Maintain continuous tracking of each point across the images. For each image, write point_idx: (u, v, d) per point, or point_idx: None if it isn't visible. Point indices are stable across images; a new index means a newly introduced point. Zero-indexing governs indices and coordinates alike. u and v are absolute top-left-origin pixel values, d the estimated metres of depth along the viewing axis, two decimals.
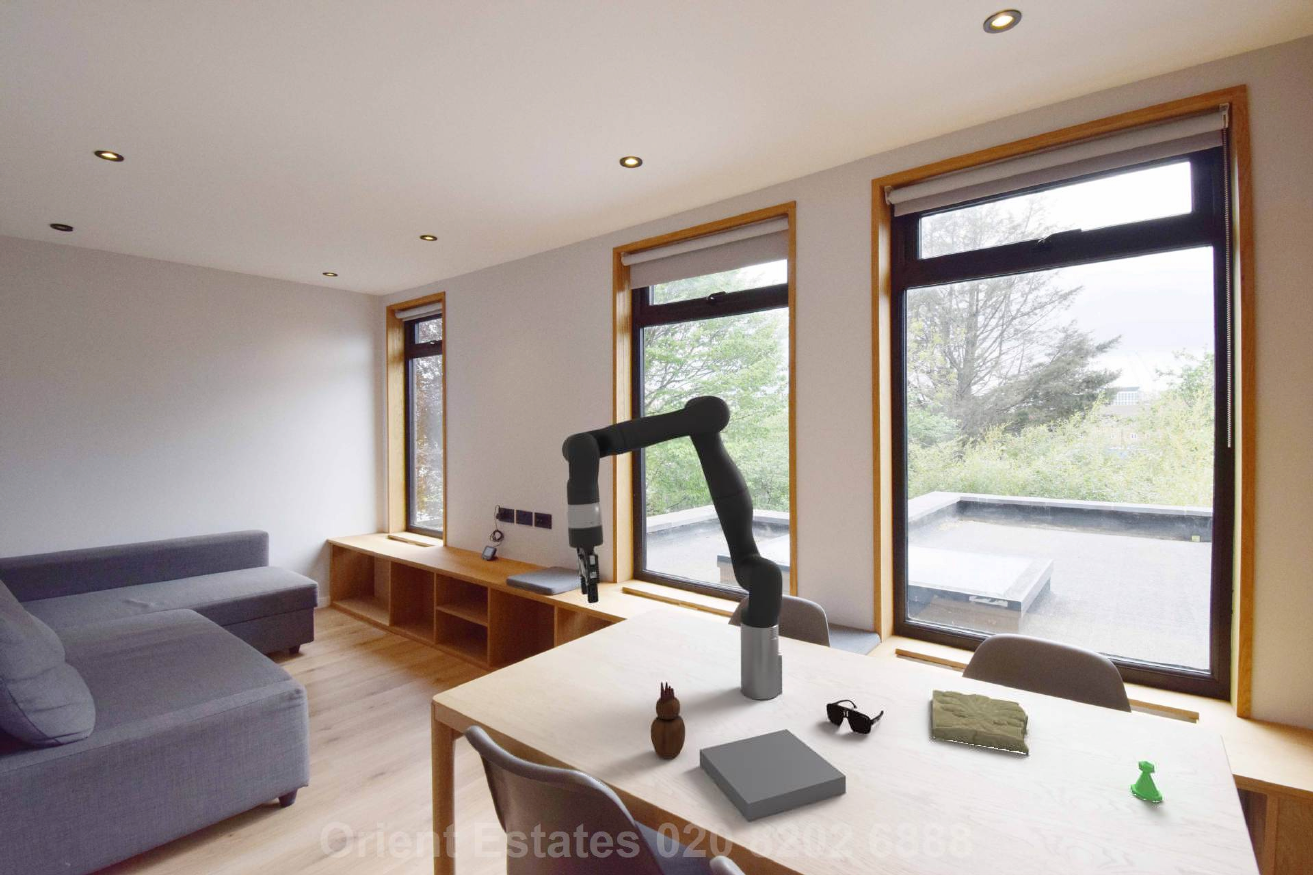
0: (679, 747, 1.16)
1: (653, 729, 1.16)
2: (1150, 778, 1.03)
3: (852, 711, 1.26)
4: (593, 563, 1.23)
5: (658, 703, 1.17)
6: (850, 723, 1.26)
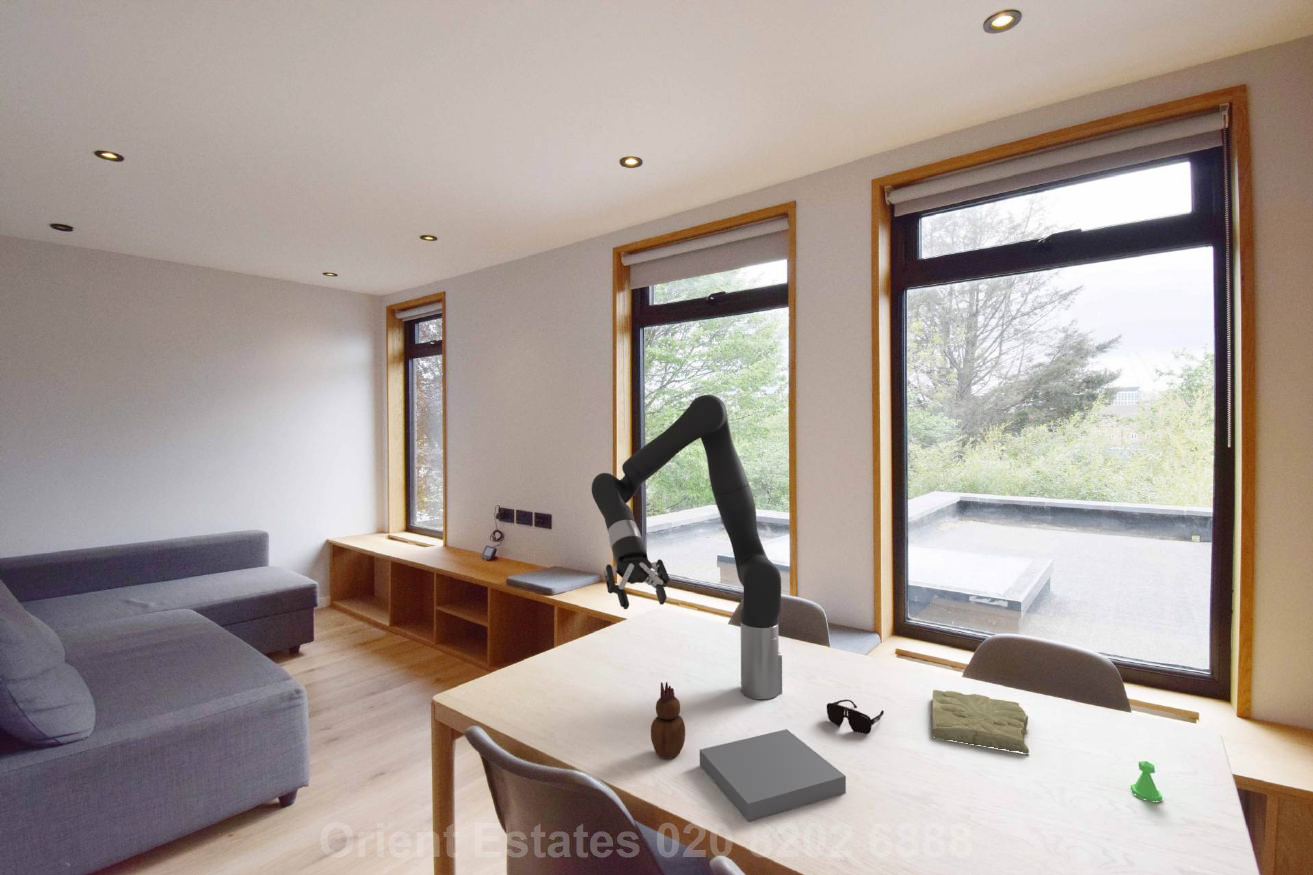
0: (679, 747, 1.16)
1: (653, 729, 1.16)
2: (1150, 778, 1.03)
3: (852, 711, 1.26)
4: (606, 573, 1.32)
5: (658, 703, 1.17)
6: (850, 723, 1.26)
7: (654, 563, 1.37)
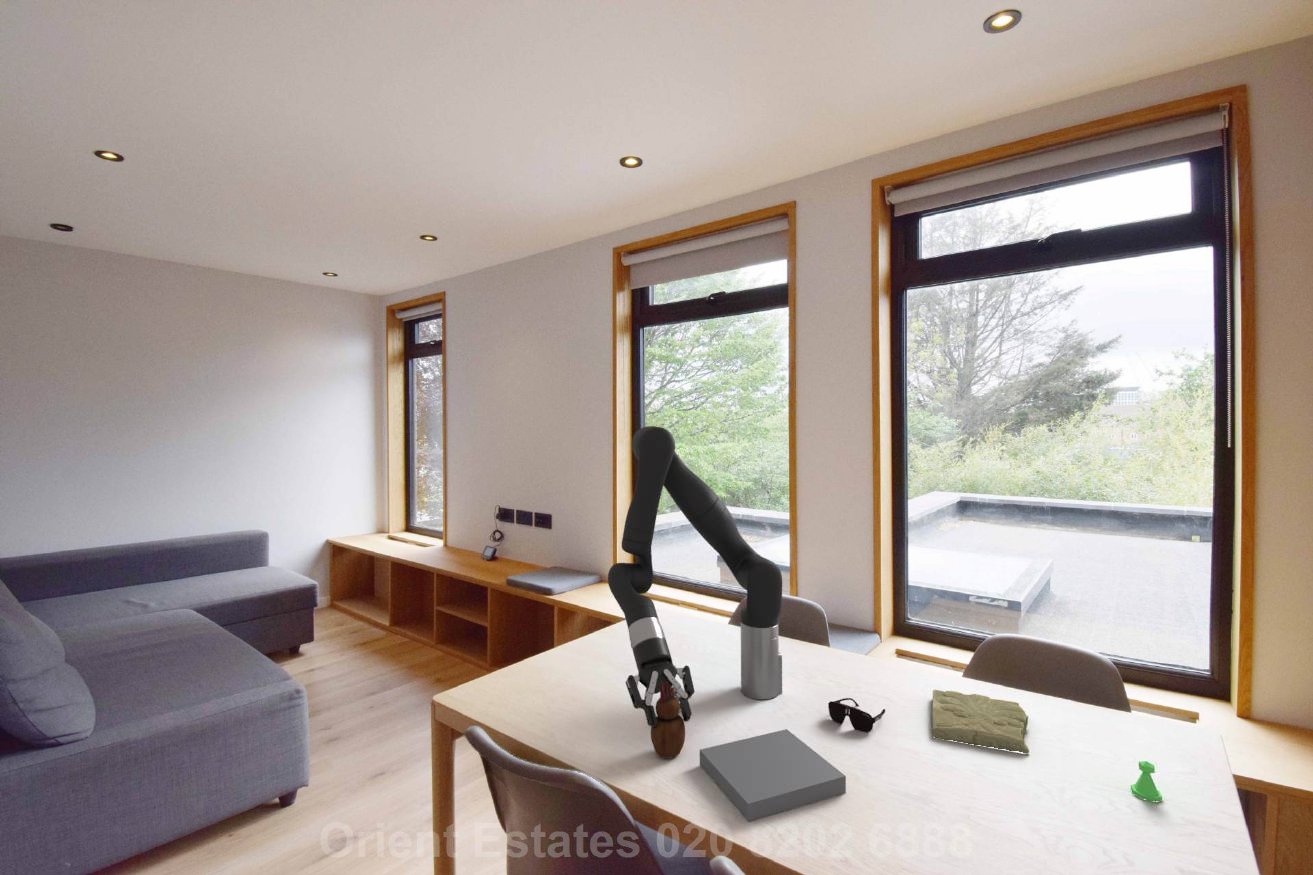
0: (679, 747, 1.16)
1: (653, 729, 1.16)
2: (1150, 778, 1.03)
3: (853, 709, 1.27)
4: (629, 686, 1.19)
5: (658, 703, 1.17)
6: (851, 721, 1.27)
7: (680, 669, 1.25)
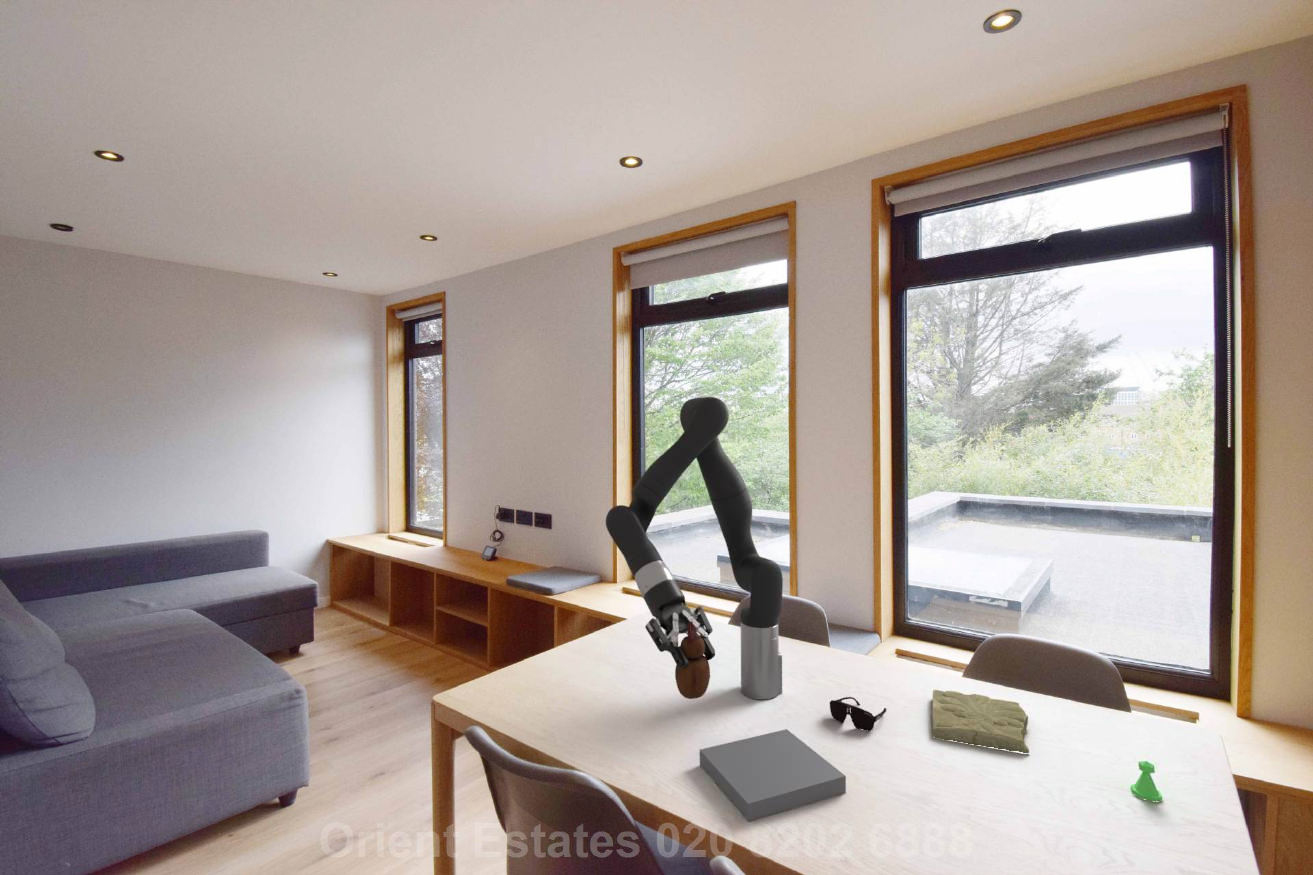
0: (707, 685, 1.13)
1: (681, 670, 1.12)
2: (1150, 778, 1.03)
3: (855, 708, 1.27)
4: (652, 629, 1.13)
5: (685, 643, 1.13)
6: (853, 720, 1.28)
7: (693, 610, 1.21)
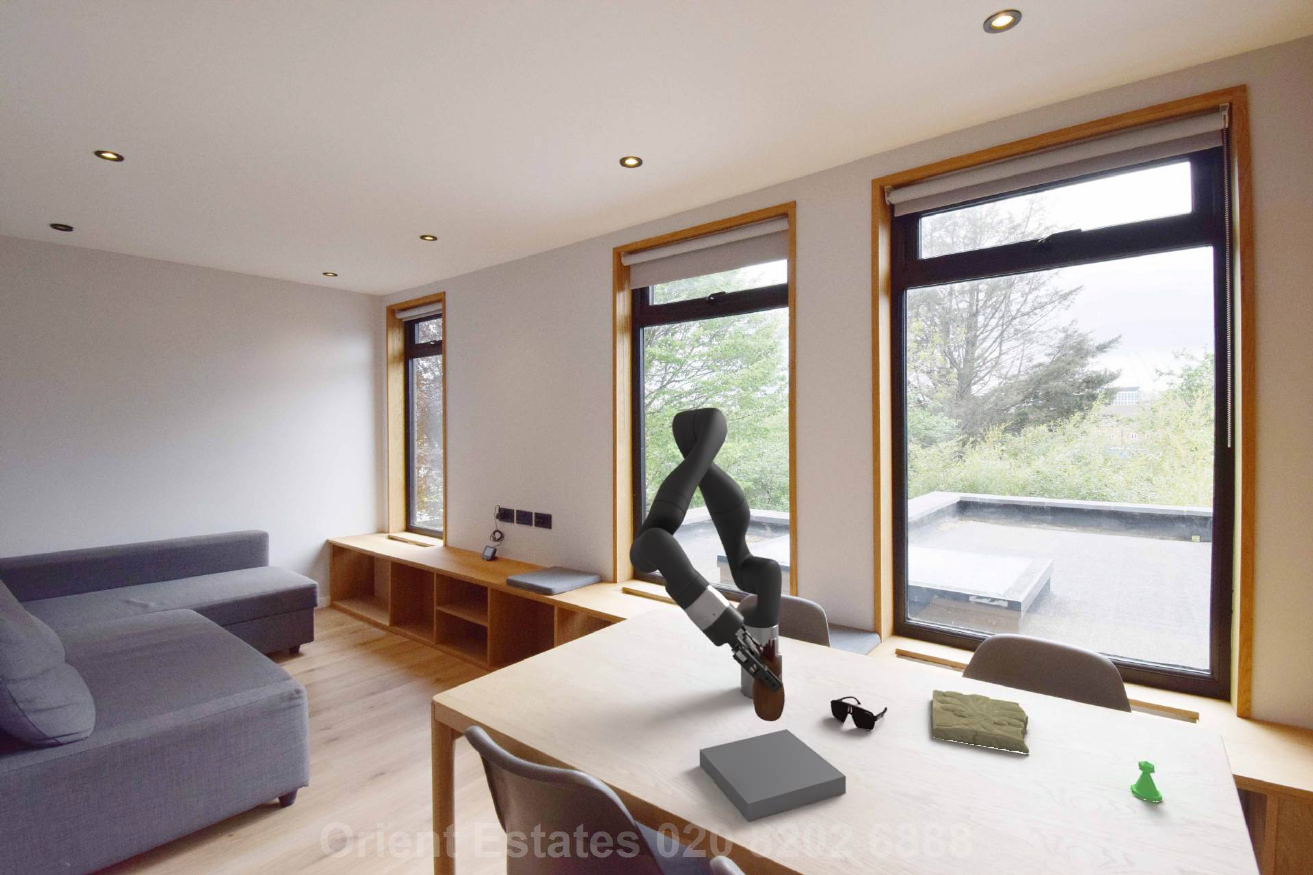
0: None
1: (771, 693, 1.06)
2: (1150, 778, 1.03)
3: (856, 708, 1.28)
4: (745, 659, 1.03)
5: (770, 664, 1.07)
6: (854, 719, 1.28)
7: (740, 629, 1.15)
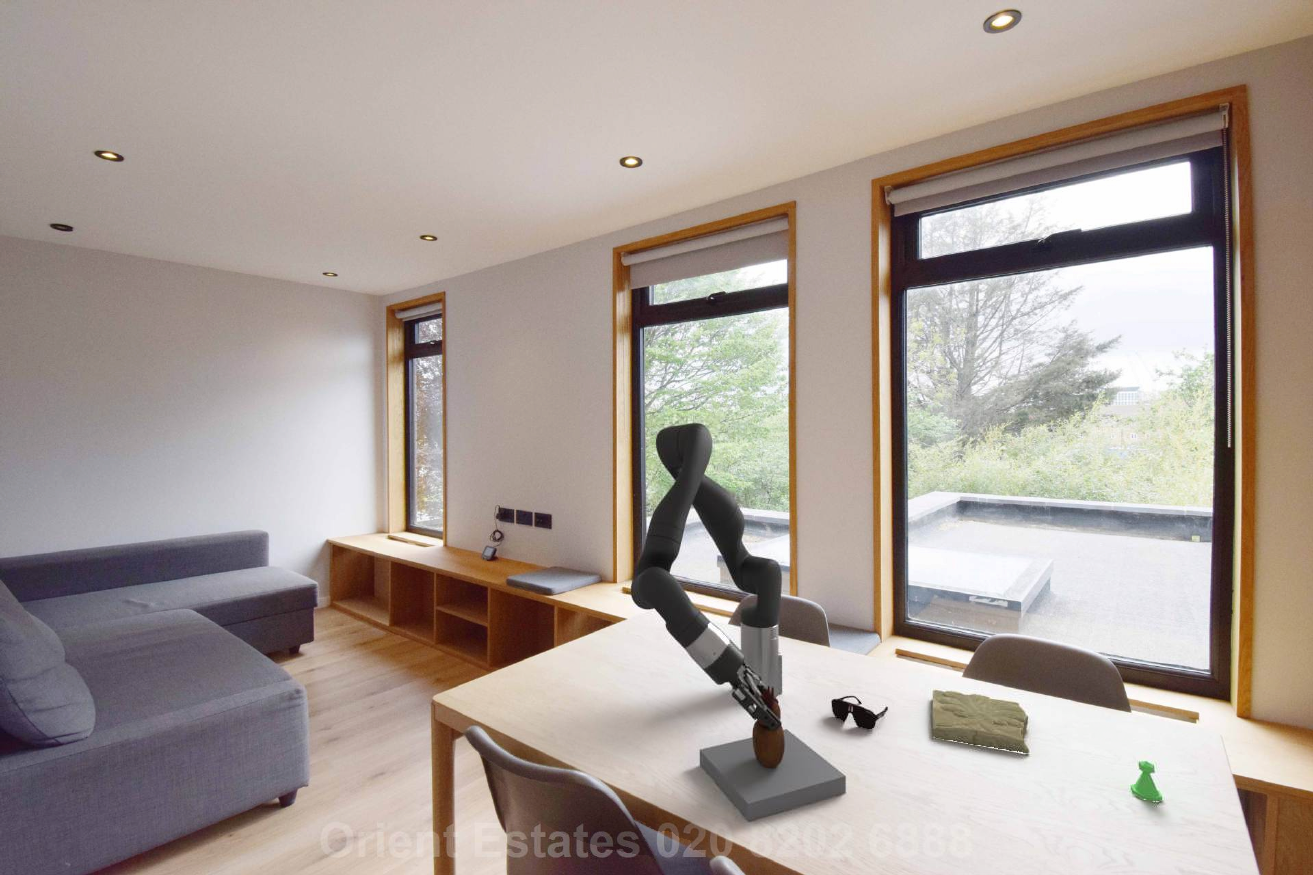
0: None
1: (771, 741, 1.06)
2: (1150, 778, 1.03)
3: (856, 707, 1.28)
4: (744, 697, 1.03)
5: None
6: (854, 718, 1.28)
7: None
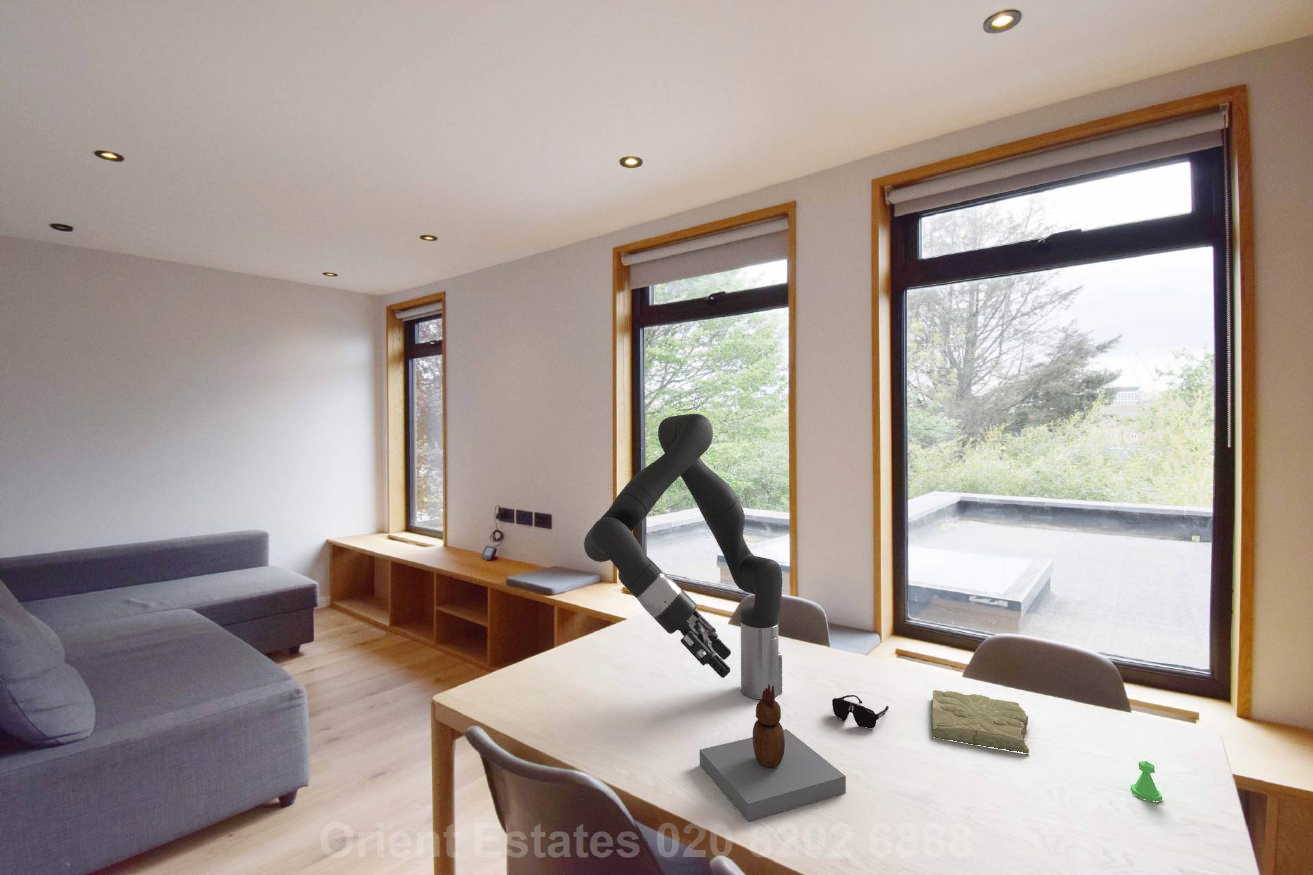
0: None
1: (771, 740, 1.06)
2: (1150, 778, 1.03)
3: (857, 706, 1.29)
4: (692, 643, 1.04)
5: (769, 710, 1.07)
6: (855, 717, 1.29)
7: None
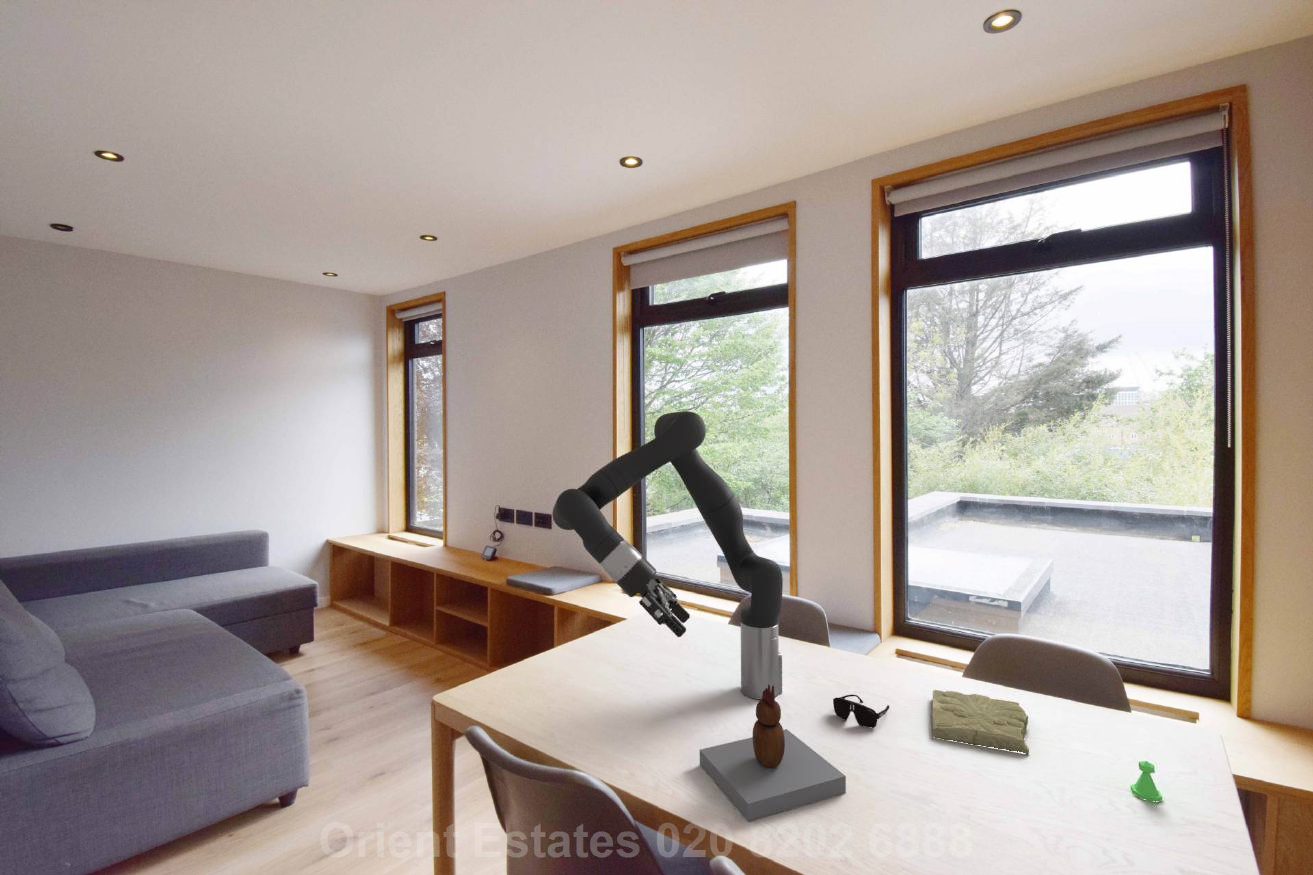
0: None
1: (771, 740, 1.06)
2: (1150, 778, 1.03)
3: (858, 705, 1.29)
4: (649, 604, 1.11)
5: (769, 710, 1.07)
6: (856, 717, 1.29)
7: None
